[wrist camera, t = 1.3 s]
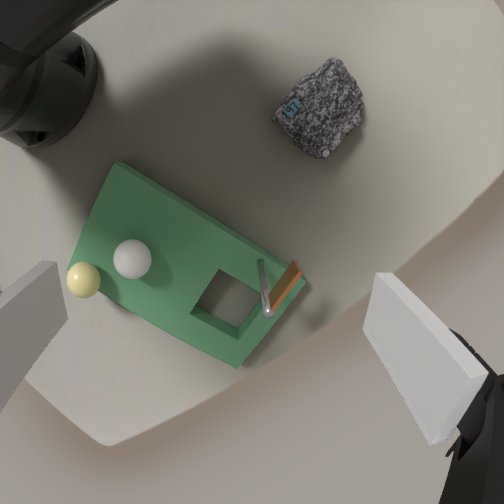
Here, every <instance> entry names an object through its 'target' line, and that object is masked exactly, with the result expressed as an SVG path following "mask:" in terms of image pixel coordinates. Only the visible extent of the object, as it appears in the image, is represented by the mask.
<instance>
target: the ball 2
mask: <svg viewBox="0 0 504 504" xmlns="http://www.w3.org/2000/svg"><path fill="white" fill-rule="evenodd" d="M113 261H114V266H115V268H116V270H117V271H118V273H119V274H120V275H122V276H123V277H125V278H129V279H136V278H140V277H142V276H143V275H145V274H146V273H147V271H148V270H149V268H150V266H151V261H152V258H151V253H150V250H149V248H148V247H147V246H146V245H145V244H144V243H143V242H141V241H139V240H135V239H130V240H126V241H124V242H122V243H121V244H120V245H119V246H118V247H117V248H116V250H115V252H114V257H113Z"/></svg>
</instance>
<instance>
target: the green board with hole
mask: <svg viewBox="0 0 504 504" xmlns="http://www.w3.org/2000/svg"><path fill="white" fill-rule="evenodd" d="M130 239H135V240H139V241H141V242H143V243H144V244H145V245H146V246H147V247H148V248H149V250H150V253H151V258H152V261H151V266H150V268H149V270H148V271H147V273H146V274H145V275H143V276H142V277H140V278H136V279H129V278H125V277H123V276H122V275H120V274H119V273H118V271H117V270H116V268H115V266H114V261H113V257H114V252H115V250H116V248H117V247H118V246H119V245H120V244H121V243H122V242H124V241H126V240H130ZM258 259H263V260H264V263H265V268H266V273H267V277H268V282H269V287H270V291H271V290H272V289H273V287H274V286H275V285H276V283H277V282H278V281H279V279H280V278H281V276H282V275H283V274H284V272H285V271H286V270H287V268H288V267H289V266H290V265H288V264H286V263H285V262H283V261H282V260H280V259H278V258H277V257H275V256H274V255H272V254H270V253H269V252H267V251H266V250H264V249H263V248H261V247H259V246H258V245H256V244H255V243H253V242H251V241H250V240H248V239H246V238H245V237H243V236H242V235H240V234H238V233H237V232H235V231H234V230H232V229H230V228H229V227H227V226H226V225H224V224H222V223H221V222H219V221H218V220H216V219H214V218H213V217H211V216H210V215H208V214H206V213H205V212H203V211H201V210H200V209H198V208H197V207H195V206H193V205H192V204H190V203H188V202H187V201H185V200H184V199H182V198H180V197H179V196H177V195H176V194H174V193H172V192H171V191H169V190H167V189H166V188H164V187H163V186H161V185H159V184H158V183H156V182H154V181H153V180H151V179H149V178H148V177H146V176H145V175H143V174H141V173H140V172H138V171H136V170H135V169H133V168H132V167H130V166H128V165H127V164H125V163H123V162H119V163H114V164H113V166H112V168H111V170H110V172H109V174H108V176H107V178H106V180H105V182H104V184H103V186H102V188H101V190H100V192H99V194H98V197H97V199H96V201H95V203H94V205H93V207H92V210H91V212H90V214H89V216H88V219H87V221H86V223H85V226H84V228H83V231H82V233H81V235H80V238H79V240H78V243H77V245H76V248H75V251H74V253H73V256H72V258H71V261H70V264H69V267H68V269H67V270H68V271H69V270H70V268H71V267H72V266H73V265H74V264H76V263H78V262H88V263H91V264H92V265H94V266H95V267H96V268H97V270H98V272H99V274H100V279H101V282H100V287H99V289H98V291H100V292H101V293H103V294H104V295H106V296H107V297H109V298H110V299H112V300H114V301H115V302H117V303H118V304H120V305H122V306H123V307H125V308H126V309H128V310H130V311H131V312H133V313H135V314H136V315H138V316H140V317H141V318H143V319H145V320H147V321H148V322H150V323H152V324H153V325H155V326H157V327H159V328H160V329H162V330H164V331H166V332H167V333H169V334H171V335H173V336H175V337H177V338H178V339H180V340H182V341H184V342H186V343H188V344H189V345H191V346H193V347H195V348H197V349H199V350H201V351H203V352H205V353H207V354H209V355H211V356H213V357H215V358H217V359H219V360H221V361H223V362H225V363H227V364H229V365H231V366H233V367H235V368H237V369H238V367H239V366H240V365H241V364H242V363H243V362H244V360H245V359H246V358H247V357H248V355H249V354H250V353H251V352H252V351H253V349H254V348H255V347H256V346H257V345H258V343H259V342H260V341H261V340H262V338H263V337H264V336H265V335H266V333H267V332H268V331H269V330H270V328H271V327H272V326H273V325H274V323H275V322H276V321H277V320H278V318H279V317H280V316H281V315H282V313H283V312H284V311H285V309H286V308H287V307H288V306H289V304H290V303H291V302H292V300H293V299H294V298H295V297H296V295H297V294H298V293H299V291H300V290H301V289H302V287H303V286H304V285H305V283H306V280H305V278H304V276H303V274H302V275H301V276H300V278H299V279H298V280H297V282H296V283H295V284H294V286H293V287H292V288H291V290H290V291H289V292H288V294H287V295H286V296H285V298H284V299H283V300H282V302H281V303H280V304H279V305H278V307H277V308H276V309H275V316H274V317H273V318H271V319H267V318H265V317H264V312H263V305H262V298H261V299H260V301H259V302H258V304H257V305H256V306H255V308H254V309H253V310H252V312H251V313H250V314H249V316H248V317H247V318H246V320H245V321H244V322H243V324H242V325H241V326H240V327H239V329H237V328H235V327H233V326H231V325H230V324H228V323H226V322H224V321H222V320H220V319H219V318H217V317H215V316H213V315H211V314H210V313H208V312H206V311H204V310H202V309H201V308H199V307H197V306H195V304H196V303H197V301H198V300H199V298H200V297H201V295H202V294H203V292H204V291H205V289H206V288H207V286H208V285H209V283H210V281H211V280H212V278H213V277H214V275H215V274H216V272H217V271H218V269H220V270H222V271H224V272H225V273H227V274H229V275H230V276H232V277H234V278H235V279H237V280H239V281H240V282H242V283H244V284H246V285H247V286H249V287H251V288H252V289H254V290H256V291H258V292H259V293H261V291H260V283H259V276H258V269H257V260H258Z"/></svg>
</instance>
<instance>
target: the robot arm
mask: <svg viewBox="0 0 504 504" xmlns="http://www.w3.org/2000/svg"><path fill="white" fill-rule="evenodd" d="M116 1H118V0H0V137H2V138H4V139H6V140H8V141H9V142H11V143H13V144H15V145H18V146H21V147H43V146H47V145H50V144H53V143H55V142H57V141H58V140H60V139H61V138H63V137H64V136H65V135H67V134H68V133H69V132H70V131H71V130H72V129H73V128H74V127H75V126H76V124H77V123H78V122H79V120H80V119H81V118H82V116H83V115H84V113H85V111H86V109H87V107H88V105H89V103H90V101H91V98H92V95H93V92H94V89H95V84H96V78H97V64H96V58H95V54H94V52H93V49H92V48H91V46H90V44H89V43H88V42H87V41H86V40H85V39H84V38H82V37H81V36H79V35H78V34H76V33H74V32H72V31H73V30H74V29H75V28H77V27H78V26H79V25H81V24H82V23H84V22H85V21H86V20H88V19H89V18H91V17H92V16H94V15H95V14H97V13H98V12H100V11H101V10H103V9H105V8H106V7H108V6H110V5H111V4H113V3H115V2H116ZM67 320H68V315H67V311H66V307H65V302H64V298H63V293H62V288H61V283H60V278H59V273H58V267H57V262H56V261H42V262H41V263H39V264H38V265H37V266H35V267H34V268H33V269H31V270H30V271H29V272H27V273H26V274H25V275H24V276H22V277H21V278H20V279H18V280H17V281H16V282H15V283H13V284H12V285H11V286H10V287H9V288H7V289H6V290H5V291H4V292H2V293H1V294H0V412H1V411H2V409H3V408H4V406H5V405H6V403H7V402H8V400H9V399H10V397H11V396H12V394H13V393H14V391H15V390H16V388H17V387H18V385H19V384H20V382H21V381H22V380H23V378H24V377H25V375H26V374H27V372H28V371H29V370H30V368H31V367H32V365H33V364H34V363H35V361H36V360H37V359H38V357H39V356H40V355H41V353H42V352H43V351H44V349H45V348H46V347H47V345H48V344H49V343H50V341H51V340H52V339H53V337H54V336H55V335H56V334H57V332H58V331H59V330H60V328H61V327H62V326H63V325H64V323H65V322H66V321H67ZM363 332H364V334H365V335H366V337H367V338H368V340H369V342H370V343H371V345H372V346H373V348H374V350H375V352H376V353H377V355H378V357H379V358H380V360H381V361H382V363H383V365H384V367H385V368H386V370H387V372H388V373H389V375H390V377H391V379H392V380H393V382H394V384H395V386H396V387H397V389H398V391H399V393H400V394H401V396H402V398H403V400H404V401H405V403H406V405H407V407H408V408H409V410H410V412H411V414H412V416H413V417H414V419H415V421H416V423H417V425H418V426H419V428H420V430H421V432H422V434H423V436H424V438H425V439H426V441H427V443H428V445H433V444H436V443H439V442H442V441H445V440H448V438H449V437H450V436H451V434H452V433H453V431H454V430H455V428H456V427H457V428H458V429H459V431H460V433H461V434H460V436H459V437H458V438H457V440H456V441H455V443H454V444H453V445H452V447H451V448H450V449H449V450H448V452H447V454H446V457H448V456H449V455H450V454H451V452H452V451H454V453H453V457H452V461H451V465H450V469H449V472H448V476H447V480H446V482H445V486H444V489H443V492H442V495H441V498H440V501H439V504H504V374H502V375H499V376H498V375H497V374H496V373H495V372H494V371H493V370H492V369H491V368H490V367H489V365H488V364H487V363H486V362H485V361H484V360H483V359H482V358H481V357H480V356H479V355H478V354H477V353H475V350H474V349H473V348H472V347H471V346H469V344H468V343H467V342H466V341H465V340H464V339H463V337H462V336H460V335H459V334H457V333H456V332H454V331H453V330H451V329H449V328H447V327H446V326H445V325H444V324H443V323H442V322H441V321H440V320H439V319H438V318H437V316H436V315H435V314H433V312H432V311H430V309H429V308H428V307H426V305H424V304H423V302H422V301H421V300H419V299H418V298H417V297H416V296H415V295H414V294H413V293H412V292H411V291H410V290H409V289H408V288H407V287H406V286H405V285H404V284H403V283H402V282H401V281H400V280H399V279H398V278H397V277H396V276H394V275H393V274H392V273H376V274H375V279H374V284H373V288H372V293H371V298H370V301H369V306H368V310H367V314H366V318H365V322H364V326H363Z"/></svg>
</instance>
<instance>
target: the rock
mask: <svg viewBox="0 0 504 504" xmlns="http://www.w3.org/2000/svg"><path fill="white" fill-rule="evenodd" d="M362 109H363V95H362V93H361V90H360V88H359V87H358V86H357V85H356V81H355V79H354V78H353V77H352V76H351V75H350V74H349V73H348V71H347V70H346V67H345V66H344V64H343V62H342V61H341V60H340V58H329V59H328V60H327V61H326V63H324V64H323V65H322V66H321V67H320V68H319V69H318V70H317V71H315V72H313V73H311V74H310V75H307V76H305V77H303V78H302V79H301V80H300V81H299V82H298V83H297V84H296V85H295V87H294V88H293V89H292V90H291V91H290V93H289V94H288V96H287V97H286V98H285V99H284V100H283V101H282V102H281V105H280V106H279V107H278V108H277V110H276V112H275V113H274V114H273V116H272V117H271V120H272V121H274V122H275V123H277V124H278V125H281V126H282V127H283V129H284V132H285V134H286V135H288V136H289V137H291V139H293V142H294V143H295V145H296V146H298V147H299V148H300V149H302V150H303V151H305V152H306V153H307V154H309V155H310V156H313V157H315V158H318V159H319V158H321V159H324V158H326V157H327V156H329V155H330V153H331V152H333V151H334V150H335V149H336V148H337V146H338V145H339V144H340V143H341V141H342V140H343V139H344V138H345V137H346V136H347V135H348V134H349V133H350V132H351V131H352V130H353V128H355V127H359V126H360V123H361V122H362V120H361V118H360V115H359V112H360V111H361V110H362Z"/></svg>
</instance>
